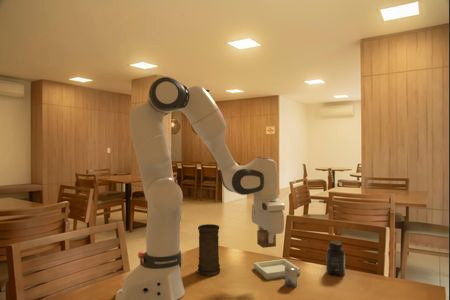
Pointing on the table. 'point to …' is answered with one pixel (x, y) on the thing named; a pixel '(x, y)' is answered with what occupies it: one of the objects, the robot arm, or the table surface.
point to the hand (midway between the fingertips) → (266, 240)
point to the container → (208, 250)
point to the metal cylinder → (290, 276)
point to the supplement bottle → (335, 259)
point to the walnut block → (264, 239)
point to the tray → (273, 268)
